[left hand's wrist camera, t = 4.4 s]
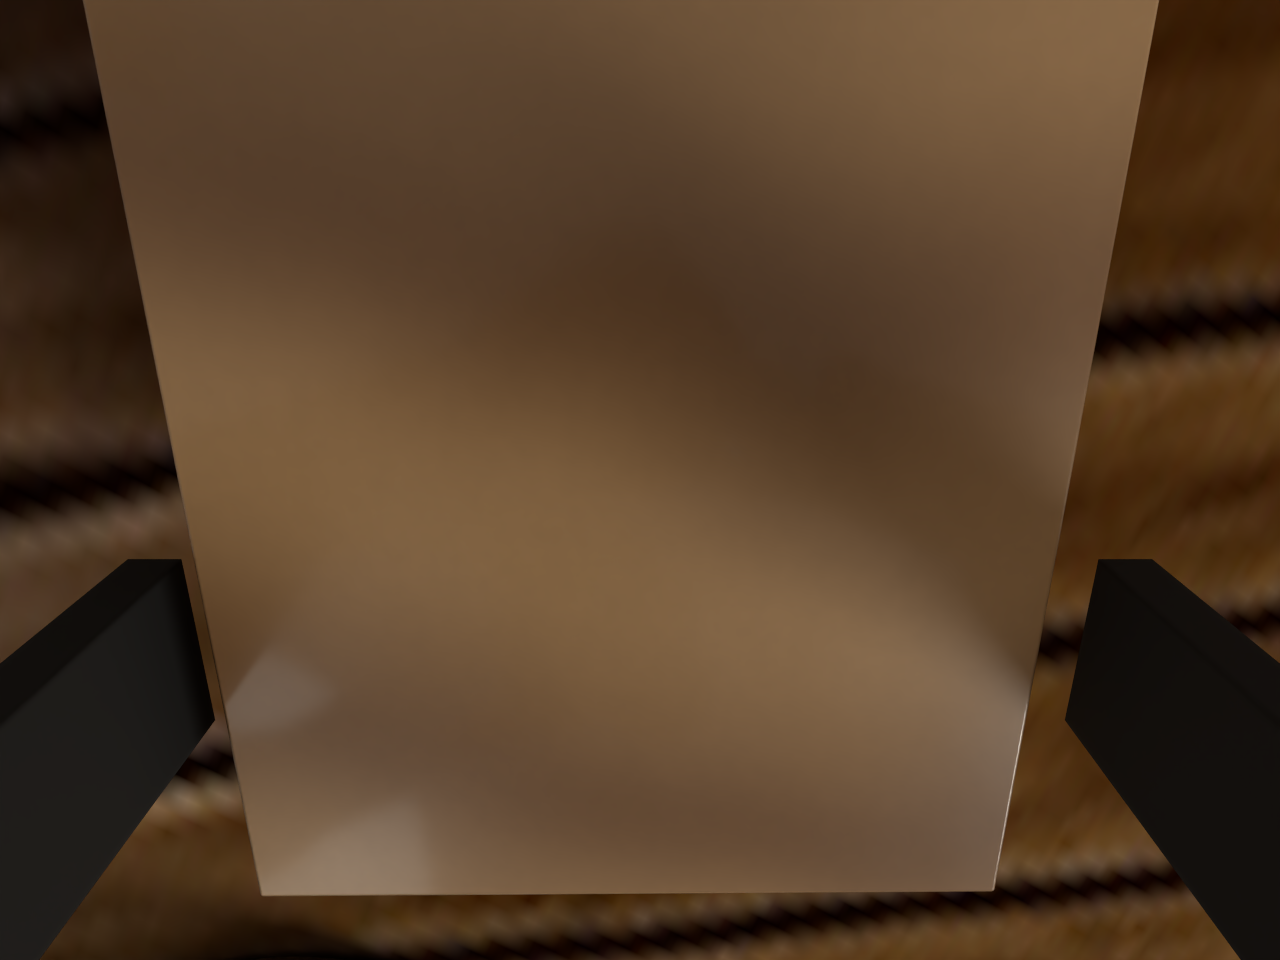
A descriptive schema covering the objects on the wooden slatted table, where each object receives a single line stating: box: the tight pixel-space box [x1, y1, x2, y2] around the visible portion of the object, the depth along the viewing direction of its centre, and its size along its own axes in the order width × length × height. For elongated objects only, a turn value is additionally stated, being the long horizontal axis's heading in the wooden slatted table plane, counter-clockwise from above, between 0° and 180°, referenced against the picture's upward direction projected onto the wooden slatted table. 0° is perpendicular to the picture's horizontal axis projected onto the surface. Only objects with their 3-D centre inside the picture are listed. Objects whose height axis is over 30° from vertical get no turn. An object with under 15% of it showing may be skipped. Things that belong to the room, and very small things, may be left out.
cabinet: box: [83, 0, 1159, 896], centre depth 15 cm, size 19×11×11 cm, turn 0°
